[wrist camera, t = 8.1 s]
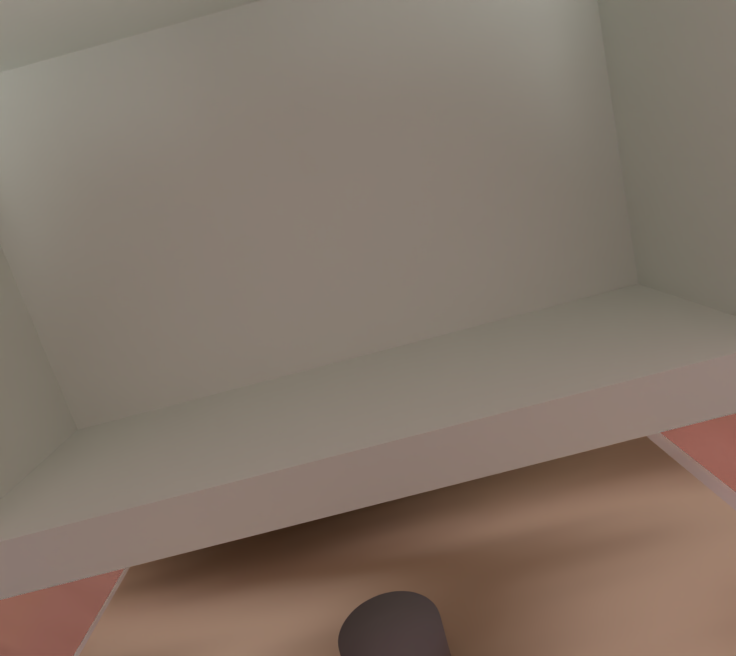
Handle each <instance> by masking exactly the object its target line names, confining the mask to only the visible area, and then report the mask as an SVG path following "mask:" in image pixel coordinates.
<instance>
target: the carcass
mask: <svg viewBox="0 0 736 656" xmlns="http://www.w3.org/2000/svg"><path fill="white" fill-rule="evenodd" d="M735 413H736V0H0V600H2V599H6V598H9V597H13V596H17V595H21V594H25V593H29V592H33V591H37V590H41V589H45V588H49V587H53V586H57V585H61V584H65V583H69V582H73V581H76V580H80V579H84V578H88V577H92V576H96V575H100V574H104V573H108V572H112V571H116V570H120V569H124V568H128V567H132V566H136V565H140V564H143V563H147V562H151V561H155V560H159V559H163V558H167V557H171V556H175V555H179V554H183V553H187V552H191V551H195V550H199V549H203V548H207V547H211V546H214V545H218V544H222V543H226V542H230V541H234V540H238V539H242V538H246V537H250V536H254V535H258V534H262V533H266V532H270V531H274V530H278V529H281V528H285V527H289V526H293V525H297V524H301V523H305V522H309V521H313V520H317V519H321V518H325V517H329V516H333V515H337V514H341V513H345V512H348V511H352V510H356V509H360V508H364V507H368V506H372V505H376V504H380V503H384V502H388V501H392V500H396V499H400V498H404V497H408V496H412V495H415V494H419V493H423V492H427V491H431V490H435V489H439V488H443V487H447V486H451V485H455V484H459V483H463V482H467V481H471V480H475V479H479V478H483V477H486V476H490V475H494V474H498V473H502V472H506V471H510V470H514V469H518V468H522V467H526V466H530V465H534V464H538V463H542V462H546V461H550V460H553V459H557V458H561V457H565V456H569V455H573V454H577V453H581V452H585V451H589V450H593V449H597V448H601V447H605V446H609V445H613V444H617V443H620V442H624V441H628V440H632V439H636V438H640V437H644V436H648V435H652V434H656V433H660V432H664V431H668V430H672V429H676V428H680V427H684V426H687V425H691V424H695V423H699V422H703V421H707V420H711V419H715V418H719V417H723V416H727V415H731V414H735Z"/></svg>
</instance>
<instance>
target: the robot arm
mask: <svg viewBox="0 0 736 656" xmlns="http://www.w3.org/2000/svg"><path fill="white" fill-rule="evenodd" d="M646 437H648V438H649V439H650V440H651V441H653V442H654V443H655V444H656V445H657V446H659V447H660V448H661V449H662V450H663V451H665V452H666V453H667V454H668V455H669V456H671V457H672V458H673V459H674V460H675V461H677V462H678V463H679V464H680V465H681V466H683V467H684V468H685V469H686V470H687V471H689V472H690V473H691V474H692V475H693V476H695V477H696V478H697V479H698V480H699V481H701V482H702V483H703V484H704V485H706V486H707V487H708V488H709V489H710V490H712V491H713V492H714V493H715V494H716V495H718V496H719V497H720V498H721V499H722V500H724V501H725V502H726V503H727V504H728V505H730V506H731V507H732V508H733V509H734V510H736V492H735V491H733V490H732V489H731V488H730V487H728V486H727V485H726V484H725V483H723V482H722V481H721V480H719V479H718V478H717V477H716V476H714V475H713V474H712V473H711V472H709V471H708V470H707V469H705V468H704V467H703V466H702V465H700V464H699V463H698V462H697V461H695V460H694V459H693V458H691V457H690V456H689V455H688V454H686V453H685V452H684V451H683V450H681V449H680V448H679V447H677V446H676V445H675V444H674V443H672V442H671V441H670V440H669V439H667V438H666V437H665V436H663V435H662V434H661V433H656V434H652V435H648V436H646ZM129 568H130V567H128V568H125V569H124V570H123V572H122V574H121V576H120V577H119V579H118V581H117V582H116V584H115V586H114V588H113V589H112V591H111V593H110V594H109V596H108V598H107V599H106V601H105V603H104V605H103V606H102V608H101V610H100V611H99V613H98V615H97V617H96V618H95V620H94V622H93V623H92V625H91V627H90V628H89V630H88V632H87V634H86V635H85V637H84V639H83V640H82V642H81V644H80V646H79V647H78V649H77V651H76V652H75V654H74V656H79V655H80V653H81V651H82V650H83V648H84V646H85V644H86V643H87V641H88V639H89V637H90V636H91V634H92V632H93V631H94V629H95V627H96V625H97V624H98V622H99V620H100V618H101V617H102V615H103V613H104V611H105V610H106V608H107V606H108V604H109V603H110V601H111V599H112V597H113V596H114V594H115V592H116V591H117V589H118V587H119V585H120V584H121V582H122V580H123V578H124V577H125V575H126V573H127V571H128V570H129Z"/></svg>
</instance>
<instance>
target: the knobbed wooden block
mask: <svg viewBox="0 0 736 656" xmlns="http://www.w3.org/2000/svg"><path fill="white" fill-rule="evenodd" d="M79 656H736V510H734V509H733V508H732V507H731V506H730V505H728V504H727V503H726V502H725V501H724V500H722V499H721V498H720V497H719V496H718V495H716V494H715V493H714V492H713V491H712V490H710V489H709V488H708V487H707V486H706V485H704V484H703V483H702V482H701V481H699V480H698V479H697V478H696V477H695V476H693V475H692V474H691V473H690V472H689V471H687V470H686V469H685V468H684V467H683V466H681V465H680V464H679V463H678V462H677V461H675V460H674V459H673V458H672V457H671V456H669V455H668V454H667V453H666V452H665V451H663V450H662V449H661V448H660V447H659V446H657V445H656V444H655V443H654V442H653V441H651V440H650V439H649V438H648V437H646V436H644V437H640V438H636V439H632V440H628V441H624V442H620V443H617V444H613V445H609V446H605V447H601V448H597V449H593V450H589V451H585V452H581V453H577V454H573V455H569V456H565V457H561V458H557V459H553V460H550V461H546V462H542V463H538V464H534V465H530V466H526V467H522V468H518V469H514V470H510V471H506V472H502V473H498V474H494V475H490V476H486V477H483V478H479V479H475V480H471V481H467V482H463V483H459V484H455V485H451V486H447V487H443V488H439V489H435V490H431V491H427V492H423V493H419V494H415V495H412V496H408V497H404V498H400V499H396V500H392V501H388V502H384V503H380V504H376V505H372V506H368V507H364V508H360V509H356V510H352V511H348V512H345V513H341V514H337V515H333V516H329V517H325V518H321V519H317V520H313V521H309V522H305V523H301V524H297V525H293V526H289V527H285V528H281V529H278V530H274V531H270V532H266V533H262V534H258V535H254V536H250V537H246V538H242V539H238V540H234V541H230V542H226V543H222V544H218V545H214V546H211V547H207V548H203V549H199V550H195V551H191V552H187V553H183V554H179V555H175V556H171V557H167V558H163V559H159V560H155V561H151V562H147V563H143V564H140V565H136V566H132V567H130V568H129V570H128V571H127V573H126V575H125V577H124V578H123V580H122V582H121V584H120V585H119V587H118V589H117V591H116V592H115V594H114V596H113V597H112V599H111V601H110V603H109V604H108V606H107V608H106V610H105V611H104V613H103V615H102V617H101V618H100V620H99V622H98V624H97V625H96V627H95V629H94V631H93V632H92V634H91V636H90V637H89V639H88V641H87V643H86V644H85V646H84V648H83V650H82V651H81V653H80V655H79Z"/></svg>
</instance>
